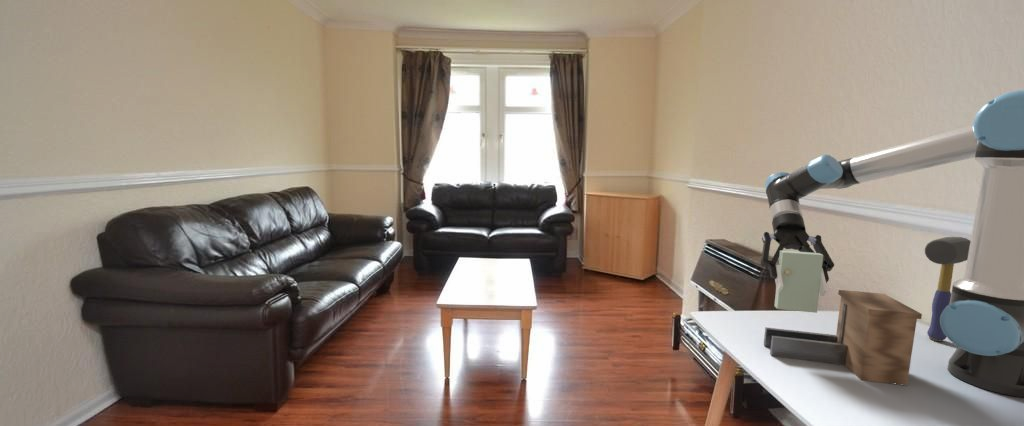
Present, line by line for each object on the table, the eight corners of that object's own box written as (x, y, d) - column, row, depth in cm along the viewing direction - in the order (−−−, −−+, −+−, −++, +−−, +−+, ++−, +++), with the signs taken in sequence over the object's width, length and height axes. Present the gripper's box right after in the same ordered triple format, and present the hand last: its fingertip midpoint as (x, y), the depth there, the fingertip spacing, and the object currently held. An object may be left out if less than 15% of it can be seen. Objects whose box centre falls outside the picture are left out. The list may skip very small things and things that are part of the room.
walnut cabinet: (875, 358, 113) (884, 293, 111) (910, 387, 99) (921, 314, 97) (830, 352, 116) (838, 289, 114) (859, 380, 102) (868, 308, 99)
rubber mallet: (930, 331, 132) (945, 233, 128) (963, 341, 125) (980, 238, 121) (908, 338, 127) (923, 236, 123) (942, 348, 120) (959, 241, 116)
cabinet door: (813, 309, 114) (819, 253, 112) (818, 313, 111) (824, 255, 109) (774, 306, 116) (779, 250, 114) (778, 309, 113) (783, 252, 111)
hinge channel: (833, 353, 116) (835, 334, 115) (845, 365, 109) (847, 345, 108) (763, 344, 120) (765, 327, 119) (771, 355, 113) (773, 337, 113)
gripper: (826, 230, 123) (846, 302, 110) (741, 225, 129) (750, 293, 116) (837, 213, 118) (859, 288, 104) (747, 209, 123) (757, 279, 110)
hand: (802, 291), depth 110 cm, fingers closed on cabinet door, 9 cm apart
